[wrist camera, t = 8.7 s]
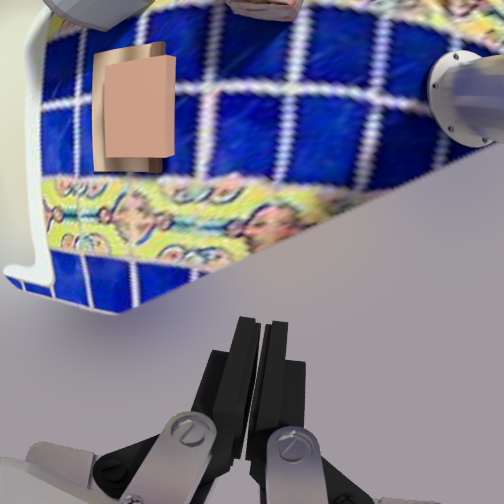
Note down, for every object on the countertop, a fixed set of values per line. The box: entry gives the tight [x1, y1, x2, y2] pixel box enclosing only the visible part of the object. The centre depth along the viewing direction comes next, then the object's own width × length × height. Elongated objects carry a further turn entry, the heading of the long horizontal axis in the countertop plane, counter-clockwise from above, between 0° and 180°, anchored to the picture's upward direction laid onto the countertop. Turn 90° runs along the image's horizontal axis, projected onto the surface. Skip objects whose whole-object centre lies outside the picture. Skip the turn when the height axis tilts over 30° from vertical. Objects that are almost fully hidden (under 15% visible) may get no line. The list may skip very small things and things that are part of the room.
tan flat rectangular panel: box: [92, 44, 151, 172], centre depth 35 cm, size 9×17×1 cm, turn 176°
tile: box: [104, 55, 176, 158], centre depth 33 cm, size 2×12×9 cm
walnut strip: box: [148, 41, 166, 173], centre depth 34 cm, size 1×17×1 cm, turn 177°
